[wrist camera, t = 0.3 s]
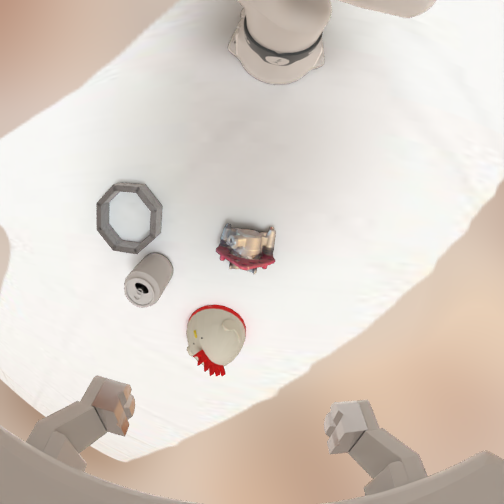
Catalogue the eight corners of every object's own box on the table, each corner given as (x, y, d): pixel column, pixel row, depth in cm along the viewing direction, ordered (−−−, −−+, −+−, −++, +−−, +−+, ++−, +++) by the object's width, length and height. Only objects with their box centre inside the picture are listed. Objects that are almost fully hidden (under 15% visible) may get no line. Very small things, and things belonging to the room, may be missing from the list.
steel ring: (105, 181, 51) (97, 183, 48) (164, 186, 52) (158, 188, 49) (104, 242, 56) (97, 247, 53) (160, 250, 57) (154, 257, 53)
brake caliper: (212, 276, 56) (210, 261, 45) (222, 227, 59) (223, 202, 48) (266, 285, 57) (279, 274, 46) (273, 236, 60) (286, 214, 49)
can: (179, 263, 58) (163, 289, 47) (165, 288, 60) (148, 317, 49) (150, 245, 56) (128, 267, 45) (137, 271, 59) (115, 297, 47)
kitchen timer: (217, 293, 60) (207, 334, 46) (257, 331, 64) (258, 376, 50) (177, 325, 64) (161, 366, 50) (216, 358, 67) (210, 402, 53)
